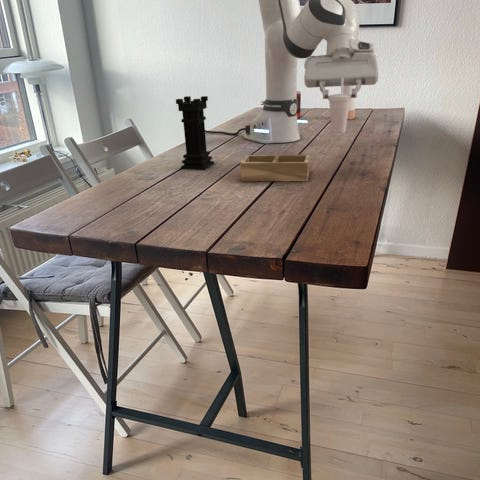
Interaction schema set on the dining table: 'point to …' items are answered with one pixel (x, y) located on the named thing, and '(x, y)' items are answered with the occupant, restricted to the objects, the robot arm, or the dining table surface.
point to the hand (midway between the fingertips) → (339, 96)
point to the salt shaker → (352, 101)
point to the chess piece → (194, 133)
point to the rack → (275, 168)
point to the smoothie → (339, 110)
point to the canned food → (298, 103)
